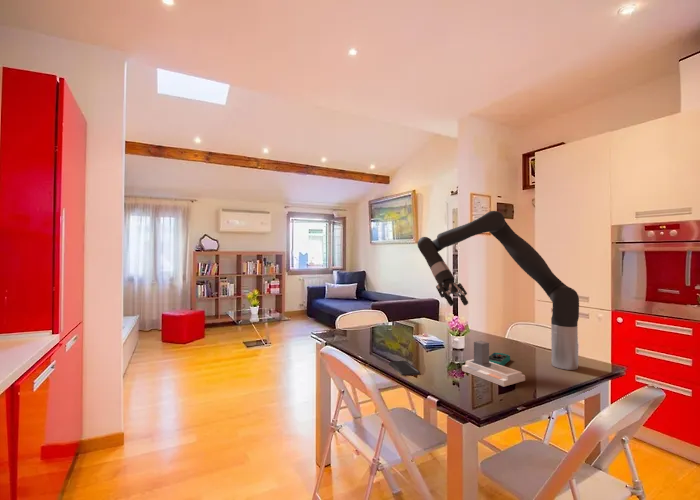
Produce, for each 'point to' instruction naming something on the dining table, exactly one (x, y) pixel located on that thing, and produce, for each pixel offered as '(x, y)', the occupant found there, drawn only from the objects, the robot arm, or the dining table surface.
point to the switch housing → (494, 373)
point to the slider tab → (481, 353)
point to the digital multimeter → (499, 358)
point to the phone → (404, 368)
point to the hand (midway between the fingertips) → (459, 304)
